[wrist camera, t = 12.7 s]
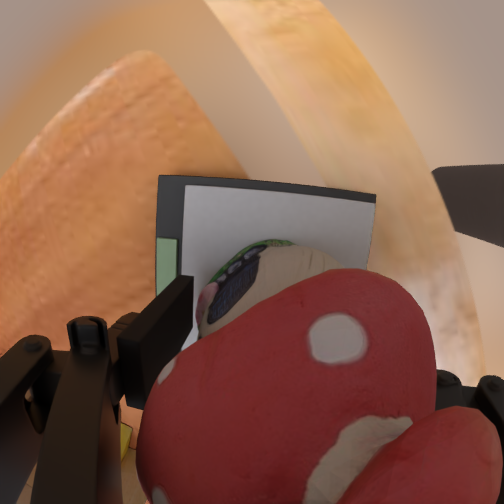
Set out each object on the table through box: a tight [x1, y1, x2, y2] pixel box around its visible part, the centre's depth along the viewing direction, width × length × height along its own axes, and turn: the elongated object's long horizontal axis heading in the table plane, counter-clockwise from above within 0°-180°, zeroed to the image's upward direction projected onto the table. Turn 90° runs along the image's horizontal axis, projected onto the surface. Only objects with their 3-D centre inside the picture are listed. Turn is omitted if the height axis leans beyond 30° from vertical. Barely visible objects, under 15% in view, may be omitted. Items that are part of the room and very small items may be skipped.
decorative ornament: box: [135, 239, 503, 504], centre depth 9 cm, size 9×6×15 cm
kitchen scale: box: [155, 175, 376, 353], centre depth 18 cm, size 12×12×3 cm
